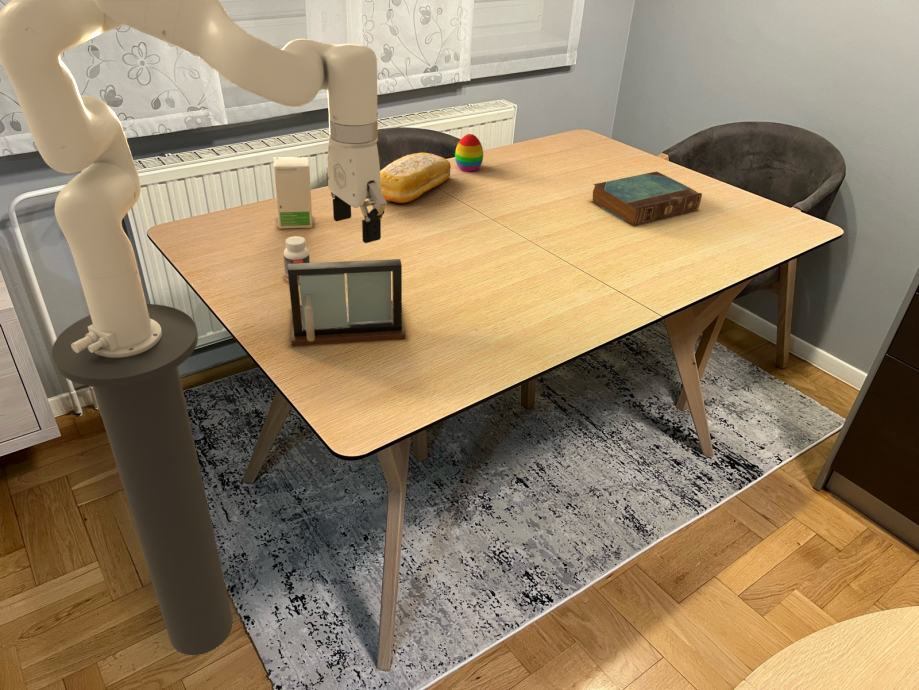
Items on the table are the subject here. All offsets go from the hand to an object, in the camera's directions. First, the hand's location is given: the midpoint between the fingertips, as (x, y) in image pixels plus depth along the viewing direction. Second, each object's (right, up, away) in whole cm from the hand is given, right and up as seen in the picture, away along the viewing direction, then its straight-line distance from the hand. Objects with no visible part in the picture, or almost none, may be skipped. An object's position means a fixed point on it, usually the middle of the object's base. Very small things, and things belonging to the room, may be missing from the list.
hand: (356, 229), depth 124 cm
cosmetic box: (-22, +10, +54) cm, 59 cm away
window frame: (-4, -16, +18) cm, 24 cm away
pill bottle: (-17, -5, +32) cm, 36 cm away
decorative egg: (+20, +32, +89) cm, 97 cm away
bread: (+5, +23, +75) cm, 78 cm away
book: (+67, +18, +72) cm, 100 cm away
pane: (-7, -18, +9) cm, 21 cm away
